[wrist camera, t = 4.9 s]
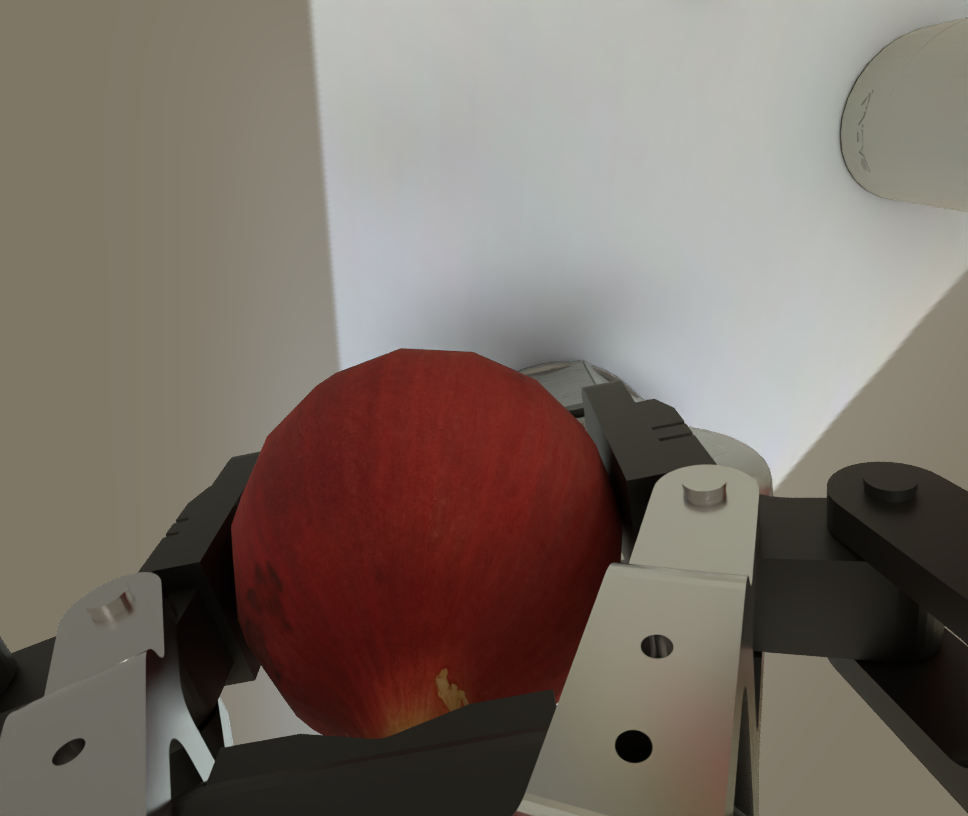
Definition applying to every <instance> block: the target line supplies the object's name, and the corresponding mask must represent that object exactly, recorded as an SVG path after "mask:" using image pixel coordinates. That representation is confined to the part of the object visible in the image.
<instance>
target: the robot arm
mask: <svg viewBox="0 0 968 816" xmlns="http://www.w3.org/2000/svg"><path fill="white" fill-rule="evenodd" d="M841 142H842V152H843V155H844V158H845V162H846V165H847V167H848V169H849V171H850V172H851V174H852V176H853V177H854V179H855V180H856V181H857V182H858V183H859V184H860V185H861V186H862V187H863V188H864V189H865V190H867V191H869V192H871V193H873V194H875V195H877V196H879V197H883V198H887V199H891V200H897V201H903V202H910V203H916V204H923V205H928V206H934V207H940V208H946V209H953V210H959V211H965V212H968V18H964V19H959V20H955V21H950V22H946V23H942V24H937V25H933V26H929V27H924V28H920V29H917V30H915V31H913V32H910V33H908V34H906V35H904V36H901V37H900V38H898V39H897V40H895V41H894V42H892V43H891V44H890V45H888V46H887V47H885V48H884V49H883V50H882V51H881V52H880V53H879V54H878V55H877V56H876V57H875V58H874V59H873V60H872V61H871V62H870V63H869V64H868V66H867V67H866V68H865V70H864V71H863V73H862V74H861V75H860V77H859V78H858V80H857V82H856V84H855V86H854V88H853V90H852V92H851V94H850V96H849V98H848V101H847V104H846V108H845V111H844V114H843V120H842V129H841ZM582 401H583V407H584V414H585V420H586V427H587V432H588V434H589V435H590V437H591V438H592V440H593V441H594V443H595V444H596V446H597V449H598V451H599V454H600V456H601V459H602V461H603V463H604V466H605V468H606V471H607V473H608V476H609V478H610V481H611V483H612V486H613V488H614V491H615V494H616V497H617V501H618V505H619V509H620V512H621V521H622V529H623V538H622V554H623V557H624V559H625V562H626V563H617V562H613V563H611V564H610V566H609V567H608V569H607V571H606V573H605V576H604V579H603V581H602V584H601V587H600V590H599V592H598V595H597V598H596V601H595V603H594V606H593V609H592V612H591V614H590V617H589V620H588V623H587V625H586V628H585V631H584V633H583V636H582V639H581V642H580V644H579V647H578V650H577V653H576V655H575V658H574V661H573V664H572V666H571V669H570V672H569V675H568V677H567V680H566V683H565V685H564V688H563V691H562V694H561V696H560V699H559V702H558V705H556V700H555V696H554V691H553V689H551V690H545V691H539V692H534V693H528V694H523V695H517V696H511V697H506V698H500V699H494V700H489V701H483V702H477V703H472V704H468V705H466V706H463V707H461V708H458V709H456V710H453V711H451V712H448V713H446V714H443V715H441V716H438V717H436V718H433V719H431V720H428V721H426V722H423V723H421V724H418V725H416V726H414V727H411V728H409V729H406V730H404V731H401V732H399V733H396V734H394V735H391V736H388V737H385V738H380V739H369V738H354V737H339V736H324V735H309V734H297V735H292V736H286V737H280V738H274V739H269V740H263V741H257V742H252V743H246V744H240V745H235V746H233V740H232V734H231V728H230V722H229V716H228V712H227V710H226V707H225V705H224V703H223V701H222V699H221V697H220V694H221V692H222V690H223V687H224V686H226V685H232V684H237V683H243V682H248V681H254V680H255V679H256V676H257V674H258V671H259V669H260V666H261V664H260V663H259V661H258V660H257V658H256V657H255V655H254V654H253V652H252V651H251V650H250V648H249V647H248V645H247V643H246V640H245V637H244V635H243V632H242V629H241V627H240V624H239V621H238V614H237V602H236V589H235V577H234V565H233V550H232V533H231V525H232V522H233V519H234V517H235V514H236V511H237V508H238V505H239V502H240V499H241V496H242V494H243V491H244V489H245V487H246V484H247V482H248V480H249V478H250V475H251V473H252V471H253V468H254V466H255V464H256V461H257V459H258V457H259V454H260V452H261V451H260V452H256V453H251V454H246V455H241V456H236V457H233V458H231V459H230V460H229V461H228V463H227V464H226V466H225V467H224V469H223V470H222V471H221V473H220V474H219V476H218V477H217V479H216V480H215V481H214V483H213V484H212V486H210V487H208V488H207V489H206V490H205V491H203V492H202V493H201V494H199V495H198V496H197V497H196V498H194V499H193V500H192V501H191V502H189V503H188V504H187V506H186V507H185V509H184V510H183V511H182V513H181V514H180V515H179V517H178V518H177V520H176V523H174V524H173V525H172V526H171V528H170V529H169V531H168V532H167V533H166V537H165V538H163V539H162V540H161V541H160V543H159V544H158V546H157V547H156V548H155V550H154V551H153V552H152V554H151V555H150V557H149V558H148V559H147V561H146V562H145V564H144V565H143V566H142V568H141V569H140V571H139V572H138V573H133V574H129V575H125V576H122V577H119V578H116V579H113V580H111V581H109V582H107V583H105V584H103V585H101V586H99V587H97V588H95V589H94V590H92V591H90V592H89V593H88V594H86V595H85V596H83V597H82V598H80V599H79V600H78V601H77V602H76V603H74V604H73V605H72V606H71V607H70V608H69V609H68V610H67V612H66V613H65V614H64V615H63V617H62V619H61V620H60V623H59V626H58V630H57V635H56V636H55V637H53V638H50V639H48V640H45V641H42V642H40V643H37V644H35V645H32V646H29V647H27V648H24V649H21V650H19V651H16V652H14V653H11V652H10V651H9V649H8V648H7V646H6V645H5V643H4V642H3V640H2V639H1V637H0V816H759V756H760V755H759V754H760V734H761V715H762V695H763V694H762V693H763V675H764V656H765V655H764V654H765V652H771V653H783V654H796V655H807V656H819V657H828V659H829V661H830V663H831V664H832V665H833V666H834V668H835V669H836V670H837V671H838V672H839V673H840V674H841V675H842V677H843V678H844V679H845V680H846V681H847V682H848V683H849V684H850V685H851V686H852V687H853V689H854V690H855V691H856V692H857V693H858V694H859V695H860V696H861V697H862V698H863V699H864V701H865V702H866V703H867V704H868V705H869V706H870V707H871V708H872V709H873V710H874V712H875V713H876V714H877V715H878V716H879V717H880V718H881V719H882V720H883V721H884V722H885V724H886V725H887V726H888V727H889V728H890V729H891V730H892V731H893V732H894V733H895V734H896V736H897V737H898V738H899V739H900V740H901V741H902V742H903V743H904V744H905V745H906V746H907V748H908V749H909V750H910V751H911V752H912V753H913V754H914V755H915V756H916V757H917V758H918V760H919V761H920V762H921V763H922V764H923V765H924V766H925V767H926V768H927V769H928V771H929V772H930V773H931V774H932V775H933V776H934V777H935V778H936V779H937V780H938V781H939V782H940V784H941V785H942V786H943V787H944V788H945V789H946V790H947V791H948V792H949V793H950V795H951V796H952V797H953V798H954V799H955V800H956V801H957V802H958V803H959V804H960V805H961V806H962V807H963V809H964V810H965V811H966V812H967V813H968V647H967V646H966V645H965V644H964V643H963V642H961V641H960V640H959V639H958V638H957V637H955V636H954V635H953V634H952V633H950V632H949V631H948V630H947V629H945V628H944V626H946V627H947V628H948V629H950V630H951V631H952V632H953V633H954V634H956V635H957V636H958V637H959V638H961V639H962V640H963V641H964V642H965V643H966V644H967V645H968V491H966V490H964V489H962V488H961V487H959V486H957V485H955V484H954V483H952V482H950V481H948V480H946V479H945V478H943V477H941V476H939V475H937V474H935V473H933V472H931V471H928V470H925V469H922V468H919V467H916V466H912V465H907V464H902V463H893V462H867V463H860V464H855V465H851V466H848V467H845V468H843V469H841V470H839V471H837V472H836V473H834V474H833V475H832V476H831V477H830V479H829V480H828V483H827V498H783V497H773V496H766V495H761V494H759V488H758V485H757V483H756V482H755V481H754V479H752V478H751V477H750V476H749V475H747V474H745V473H744V472H742V471H739V470H737V469H734V468H730V467H726V466H720V465H717V464H716V462H715V461H714V460H713V458H712V457H711V456H710V454H709V453H708V452H707V451H706V449H705V448H704V447H703V445H702V444H701V443H700V441H699V440H698V439H697V437H696V436H695V435H693V433H692V431H691V430H690V428H689V427H688V426H687V424H685V423H684V420H683V419H682V418H681V416H680V415H679V414H678V412H677V411H676V410H675V409H674V408H673V407H671V406H669V405H667V404H664V403H662V402H660V401H658V400H656V399H651V400H646V401H641V402H636V403H635V401H634V400H633V398H632V396H631V395H630V393H629V392H628V390H627V389H626V387H625V385H624V384H623V382H622V381H621V380H617V381H612V382H607V383H602V384H597V385H592V386H587V387H582Z"/></svg>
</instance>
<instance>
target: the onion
mask: <svg viewBox="0 0 968 816" xmlns="http://www.w3.org/2000/svg"><path fill="white" fill-rule="evenodd" d="M231 533H232V550H233V565H234V577H235V589H236V602H237V614H238V621H239V624H240V627H241V629H242V632H243V635H244V637H245V640H246V643H247V645H248V647H249V648H250V650H251V651H252V652H253V654H254V655H255V657H256V658H257V660H258V661H259V663H260V664H261V666H262V667H263V669H264V670H265V672H266V673H267V674H268V676H269V677H270V679H271V680H272V682H273V683H274V685H275V686H276V687H277V689H278V691H279V692H280V693H281V695H282V696H283V698H284V699H285V701H286V702H287V703H288V705H289V706H290V708H291V709H292V710H293V712H294V713H295V715H296V716H297V717H298V718H300V719H301V720H302V721H303V722H304V723H306V724H307V725H308V726H309V727H311V728H312V729H313V730H315V731H317V732H318V733H320V734H322V735H324V736H339V737H354V738H369V739H380V738H385V737H388V736H391V735H394V734H396V733H399V732H401V731H404V730H406V729H409V728H411V727H414V726H416V725H418V724H421V723H423V722H426V721H428V720H431V719H433V718H436V717H438V716H441V715H443V714H446V713H448V712H451V711H453V710H456V709H458V708H461V707H463V706H466V705H468V704H472V703H477V702H483V701H489V700H494V699H500V698H506V697H511V696H517V695H523V694H528V693H534V692H539V691H545V690H551V689H553V691H554V696H555V700H556V704H557V703H558V702H559V699H560V696H561V694H562V691H563V688H564V685H565V683H566V680H567V677H568V675H569V672H570V669H571V666H572V664H573V661H574V658H575V655H576V653H577V650H578V647H579V644H580V642H581V639H582V636H583V633H584V631H585V628H586V625H587V623H588V620H589V617H590V614H591V612H592V609H593V606H594V603H595V601H596V598H597V595H598V592H599V590H600V587H601V584H602V581H603V579H604V576H605V573H606V571H607V569H608V567H609V566H610V564H611V563H613V562H617V563H621V552H622V538H623V529H622V521H621V512H620V509H619V505H618V501H617V497H616V494H615V491H614V488H613V486H612V483H611V481H610V478H609V476H608V473H607V471H606V468H605V466H604V463H603V461H602V459H601V456H600V454H599V451H598V449H597V446H596V444H595V443H594V441H593V440H592V438H591V437H590V435H589V434H588V432H587V431H586V429H585V428H584V427H583V425H582V424H581V423H580V422H579V421H578V420H577V419H576V418H575V417H574V416H573V415H572V414H571V413H570V412H569V411H568V410H567V409H566V408H565V407H564V406H563V405H562V404H561V403H560V402H559V401H558V400H557V399H556V398H555V397H554V396H553V395H551V394H550V393H549V392H548V391H547V390H546V389H545V388H544V387H543V386H542V385H541V384H540V383H539V382H538V381H537V380H535V379H533V378H531V377H529V376H526V375H524V374H522V373H519V372H517V371H515V370H513V369H510V368H508V367H506V366H504V365H501V364H499V363H497V362H495V361H492V360H490V359H488V358H485V357H483V356H481V355H479V354H476V353H474V352H462V351H443V350H423V349H403V348H401V349H398V350H395V351H393V352H390V353H388V354H385V355H382V356H380V357H377V358H374V359H372V360H369V361H366V362H364V363H361V364H358V365H356V366H353V367H350V368H348V369H345V370H342V371H340V372H337V373H335V374H334V375H332V376H331V377H329V378H328V379H326V380H325V381H323V382H322V383H320V384H319V385H317V386H316V387H315V388H314V389H313V390H312V391H311V392H310V393H309V394H308V395H307V396H306V397H305V398H304V399H303V400H302V401H301V402H300V403H299V404H298V405H297V407H295V409H294V410H292V412H291V413H290V414H289V415H288V416H287V417H286V418H285V419H284V420H283V421H282V422H281V423H280V424H279V425H278V426H277V427H276V428H275V429H274V430H273V431H272V432H271V433H270V434H269V435H268V436H267V438H266V440H265V443H264V445H263V447H262V450H261V452H260V454H259V457H258V459H257V461H256V464H255V466H254V468H253V471H252V473H251V475H250V478H249V480H248V482H247V484H246V487H245V489H244V491H243V494H242V496H241V499H240V502H239V505H238V508H237V511H236V514H235V517H234V519H233V522H232V525H231Z"/></svg>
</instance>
